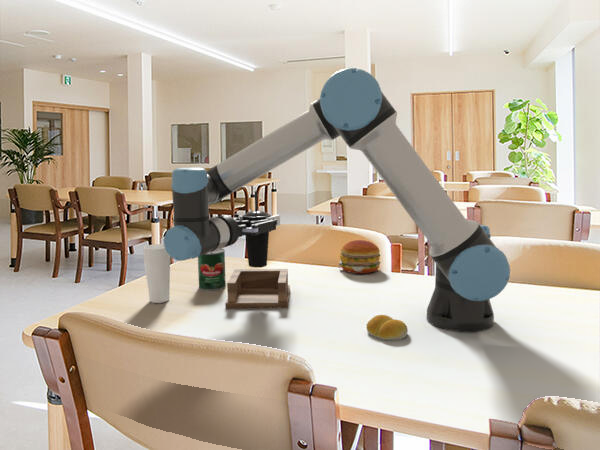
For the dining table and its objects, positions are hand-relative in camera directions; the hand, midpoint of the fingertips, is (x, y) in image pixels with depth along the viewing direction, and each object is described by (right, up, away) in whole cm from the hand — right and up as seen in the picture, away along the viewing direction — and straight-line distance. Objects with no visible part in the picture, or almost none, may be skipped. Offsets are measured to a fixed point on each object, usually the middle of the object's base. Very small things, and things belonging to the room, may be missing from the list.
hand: (265, 218), depth 143 cm
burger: (+29, -17, +28) cm, 43 cm away
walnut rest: (-2, -22, -1) cm, 22 cm away
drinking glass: (-29, -22, -1) cm, 36 cm away
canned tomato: (-17, -20, +11) cm, 28 cm away
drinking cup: (-2, -13, -2) cm, 13 cm away
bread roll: (+29, -26, -27) cm, 47 cm away
